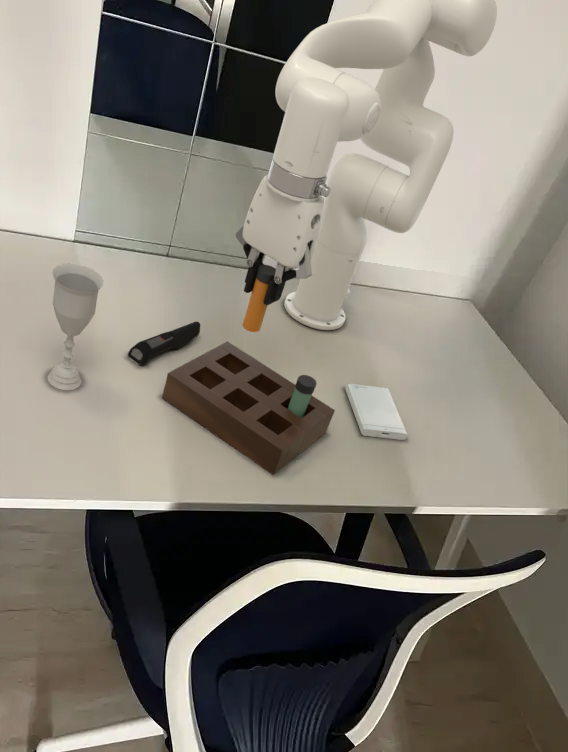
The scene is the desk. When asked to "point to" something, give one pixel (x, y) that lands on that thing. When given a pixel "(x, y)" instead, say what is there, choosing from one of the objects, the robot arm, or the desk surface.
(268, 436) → the rack
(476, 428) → the desk surface
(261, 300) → the amber tube
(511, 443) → the desk surface
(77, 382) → the chalice
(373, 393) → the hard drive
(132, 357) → the electric trimmer
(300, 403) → the sage tube
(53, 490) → the desk surface
